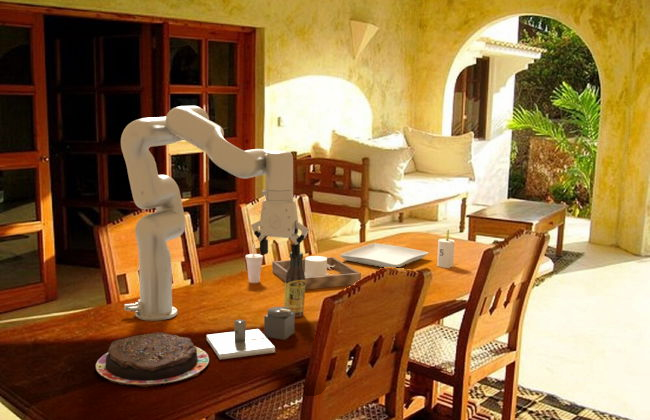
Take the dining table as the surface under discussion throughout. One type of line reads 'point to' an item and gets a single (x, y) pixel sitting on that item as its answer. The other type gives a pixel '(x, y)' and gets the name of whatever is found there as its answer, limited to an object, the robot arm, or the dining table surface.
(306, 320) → the dining table surface
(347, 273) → the frame
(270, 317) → the knob
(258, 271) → the smoothie
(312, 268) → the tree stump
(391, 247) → the square plate
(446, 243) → the candle
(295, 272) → the sauce bottle
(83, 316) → the dining table surface
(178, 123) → the robot arm
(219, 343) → the shaft base
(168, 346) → the chocolate cake
